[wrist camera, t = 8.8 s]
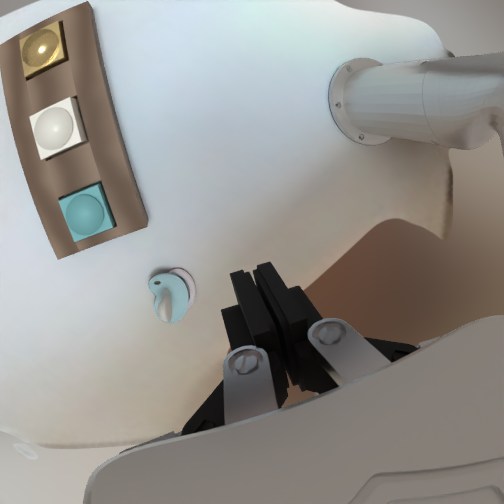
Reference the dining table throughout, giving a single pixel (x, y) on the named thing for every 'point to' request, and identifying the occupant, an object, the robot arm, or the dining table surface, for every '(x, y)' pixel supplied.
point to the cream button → (58, 127)
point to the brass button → (43, 50)
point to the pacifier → (172, 294)
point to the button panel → (84, 154)
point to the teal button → (87, 211)
